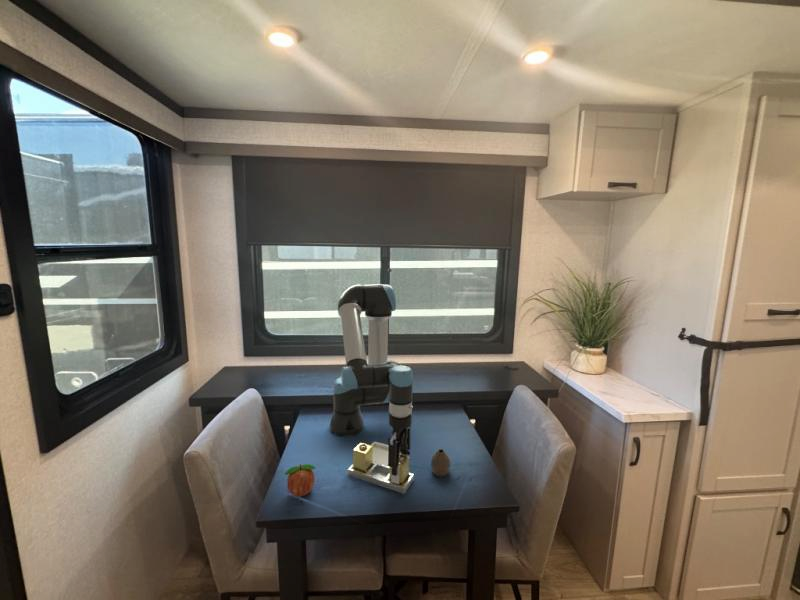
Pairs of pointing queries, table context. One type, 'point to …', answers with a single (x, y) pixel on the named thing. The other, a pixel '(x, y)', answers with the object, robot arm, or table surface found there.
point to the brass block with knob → (362, 457)
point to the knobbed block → (402, 469)
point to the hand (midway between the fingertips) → (399, 476)
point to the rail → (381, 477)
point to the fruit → (300, 480)
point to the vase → (440, 463)
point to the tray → (380, 453)
